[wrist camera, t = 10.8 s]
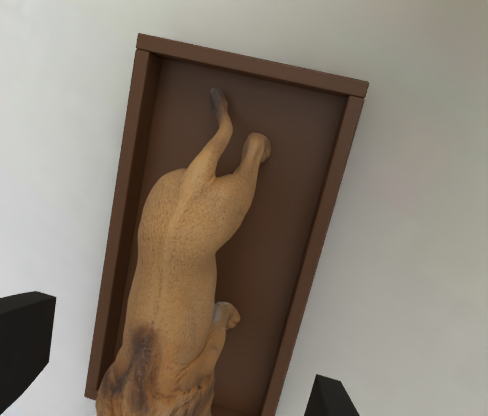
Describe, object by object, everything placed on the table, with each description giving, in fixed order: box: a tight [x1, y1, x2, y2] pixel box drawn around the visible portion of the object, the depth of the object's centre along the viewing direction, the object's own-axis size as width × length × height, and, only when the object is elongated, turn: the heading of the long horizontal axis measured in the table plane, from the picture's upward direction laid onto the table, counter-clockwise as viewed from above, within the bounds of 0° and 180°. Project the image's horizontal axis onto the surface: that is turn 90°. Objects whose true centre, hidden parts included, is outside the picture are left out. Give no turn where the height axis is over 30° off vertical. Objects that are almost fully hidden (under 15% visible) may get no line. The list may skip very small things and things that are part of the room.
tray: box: [84, 33, 369, 416], centre depth 18 cm, size 17×9×2 cm, turn 167°
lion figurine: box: [96, 88, 271, 416], centre depth 14 cm, size 15×5×9 cm, turn 178°
